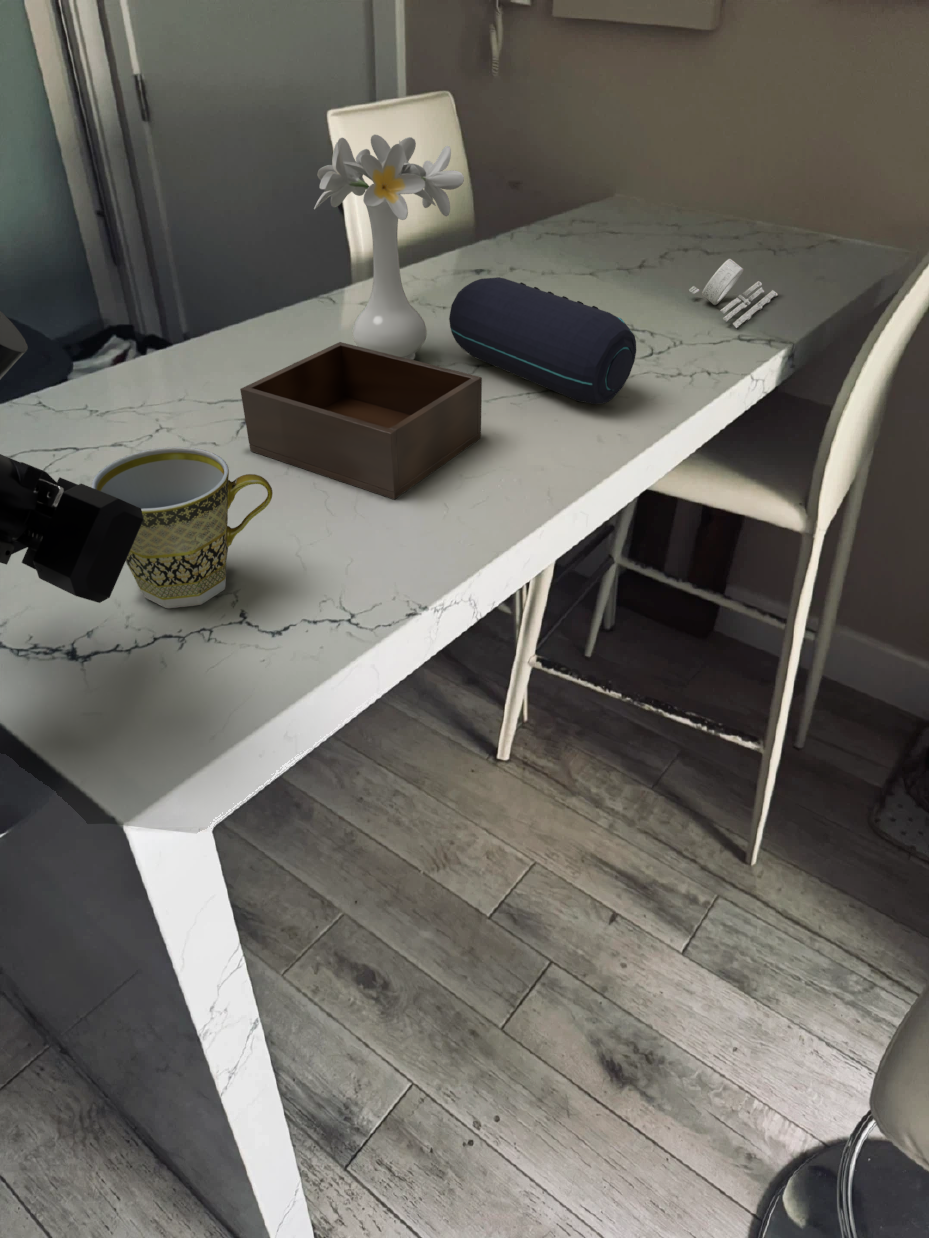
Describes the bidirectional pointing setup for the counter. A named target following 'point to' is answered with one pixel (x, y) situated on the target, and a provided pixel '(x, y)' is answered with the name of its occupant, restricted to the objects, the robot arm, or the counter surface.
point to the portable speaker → (544, 338)
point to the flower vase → (388, 231)
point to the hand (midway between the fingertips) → (112, 546)
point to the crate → (364, 417)
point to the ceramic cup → (179, 520)
